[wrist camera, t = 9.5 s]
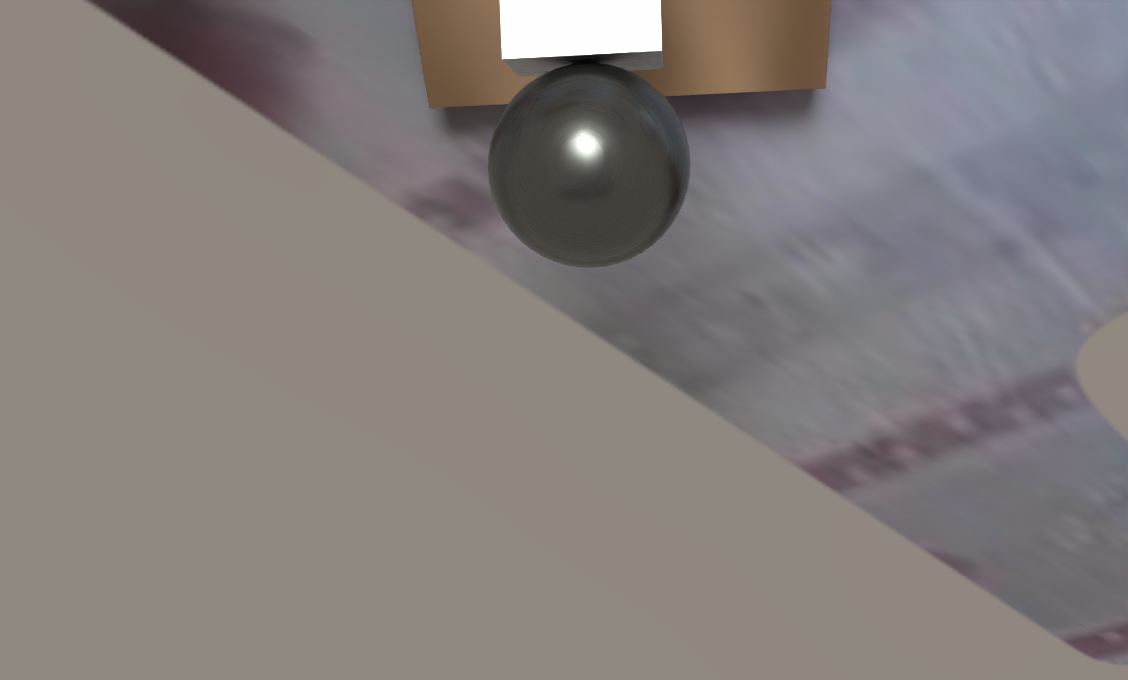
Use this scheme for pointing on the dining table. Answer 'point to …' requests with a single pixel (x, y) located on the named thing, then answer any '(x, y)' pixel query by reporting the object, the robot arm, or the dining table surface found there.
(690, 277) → the dining table surface
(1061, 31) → the dining table surface
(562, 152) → the lever
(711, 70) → the nutcracker bench
